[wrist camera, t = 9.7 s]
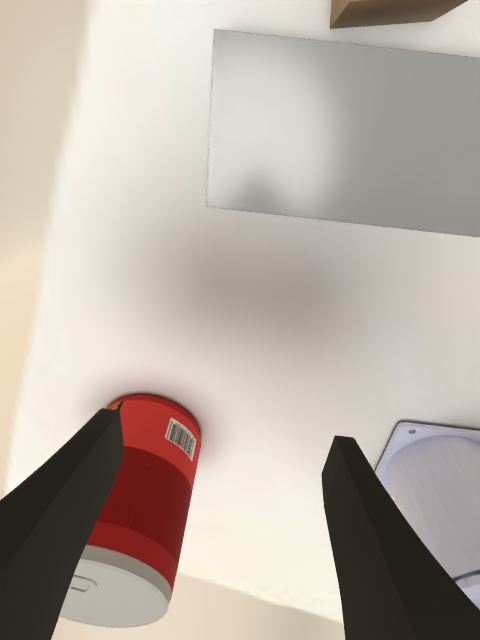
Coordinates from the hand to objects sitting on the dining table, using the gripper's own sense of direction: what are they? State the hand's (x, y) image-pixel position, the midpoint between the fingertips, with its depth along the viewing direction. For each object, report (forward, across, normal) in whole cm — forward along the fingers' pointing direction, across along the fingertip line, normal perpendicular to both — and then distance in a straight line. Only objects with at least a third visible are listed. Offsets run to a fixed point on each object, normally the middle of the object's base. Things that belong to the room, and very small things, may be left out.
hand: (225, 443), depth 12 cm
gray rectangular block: (+10, -4, -9) cm, 14 cm away
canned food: (+11, +6, +12) cm, 17 cm away
